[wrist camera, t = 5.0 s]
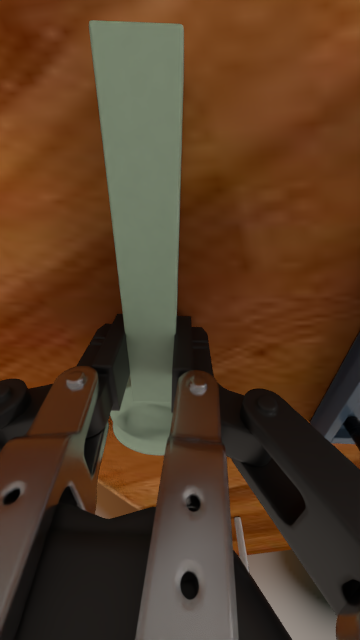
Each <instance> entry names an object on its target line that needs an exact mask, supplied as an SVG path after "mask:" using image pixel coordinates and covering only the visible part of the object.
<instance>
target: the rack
mask: <svg viewBox="0 0 360 640" xmlns="http://www.w3.org/2000/svg"><path fill="white" fill-rule="evenodd" d="M310 424H311V425H312V426H313V427H314V428H315V429H316V430H317V431H318V432H319V433H320V434H321V435H323V436H324V437H325V438H326V439H327V440H328V441H329V442H330V443H340V444H356V446H357V447H358V449H359V450H360V332H359V334H358V336H357V338H356V339H355V341H354V343H353V345H352V347H351V349H350V350H349V352H348V354H347V356H346V358H345V359H344V361H343V363H342V365H341V367H340V369H339V370H338V372H337V374H336V376H335V378H334V379H333V381H332V383H331V385H330V387H329V389H328V390H327V392H326V394H325V396H324V398H323V399H322V401H321V403H320V405H319V407H318V409H317V410H316V412H315V414H314V416H313V418H312V419H311V421H310Z"/></svg>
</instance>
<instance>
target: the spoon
mask: <svg viewBox="0 0 360 640" xmlns="http://www.w3.org/2000/svg"><path fill="white" fill-rule="evenodd" d="M89 32H90V40H91V49H92V57H93V66H94V74H95V83H96V91H97V100H98V108H99V117H100V125H101V134H102V142H103V150H104V159H105V167H106V176H107V184H108V193H109V201H110V210H111V218H112V227H113V235H114V244H115V252H116V261H117V269H118V278H119V286H120V295H121V303H122V312H123V320H124V329H125V333H126V342H127V351H128V359H129V368H130V376H129V379H128V383H127V386H126V390H125V393H124V397H123V401H122V404H121V408H120V411H111V413H110V416H111V419H112V421H113V431H114V434H115V436H116V438H117V439H118V440H119V441H120V442H121V443H122V444H123V445H125V446H126V447H128V448H130V449H132V450H135V451H137V452H140V453H144V454H150V455H164V454H165V448H166V443H167V439H168V437H169V434H170V428H171V422H172V415H173V413H171V401H172V364H173V349H174V335H175V334H176V319H177V292H178V258H179V223H180V188H181V154H182V119H183V84H184V28H183V25H181V24H170V23H145V22H120V21H95V20H91V21H89Z"/></svg>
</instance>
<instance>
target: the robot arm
mask: <svg viewBox="0 0 360 640" xmlns="http://www.w3.org/2000/svg"><path fill="white" fill-rule="evenodd" d="M129 376H130V368H129V359H128V351H127V342H126V333H125V329H124V320H123V314H117V315H116V317H115V319H114V321H113V323H112V324H105V325H103V326H102V327H101V328H99V329H98V330H97V332H96V333H95V335H94V337H93V339H92V340H91V342H90V345H88V347H87V349H86V351H85V352H84V354H83V356H82V357H81V359H80V361H79V363H78V364H77V366H76V367H73V368H70V369H68V370H66V371H64V372H63V373H61V374H60V375H59V376H58V377H57V378H56V380H55V381H54V383H53V384H50V385H45V386H40V387H36V388H31V389H28V388H27V386H26V384H25V382H23V381H22V380H19V379H6V380H2V381H0V640H292V639H291V637H290V635H289V634H288V632H287V631H286V629H285V628H284V626H283V625H282V623H281V622H280V620H279V618H278V617H277V615H276V614H275V612H274V611H273V609H272V607H271V606H270V604H269V603H268V601H267V600H266V598H265V596H264V595H263V593H262V592H261V590H260V589H259V587H258V586H257V584H256V582H255V581H254V579H253V578H252V576H251V575H250V573H249V572H248V570H247V568H246V567H245V565H244V564H243V562H242V561H241V559H240V558H239V556H238V555H237V554H236V553H235V551H234V550H233V546H232V531H231V516H230V501H229V487H228V472H227V457H230V458H231V459H232V461H233V463H234V464H235V466H236V467H237V469H238V470H239V472H240V473H241V475H242V476H243V478H244V479H245V480H246V482H247V483H248V485H249V486H250V488H251V489H252V491H253V492H254V494H255V495H256V497H257V498H258V500H259V501H260V503H261V504H262V506H263V507H264V509H265V510H266V512H267V513H268V515H269V516H270V517H271V519H272V520H273V522H274V523H275V525H276V526H277V528H278V529H279V531H280V532H281V534H282V535H283V537H284V538H285V540H286V541H287V543H288V544H289V546H290V547H291V549H292V550H293V552H294V553H295V555H296V556H297V557H298V559H299V560H300V562H301V563H302V565H303V566H304V568H305V569H306V571H307V572H308V574H309V575H310V577H311V578H312V580H313V581H314V583H315V584H316V586H317V587H318V589H319V590H320V591H321V593H322V594H323V596H324V597H325V599H326V600H327V602H328V603H329V605H330V606H331V608H332V609H333V611H334V612H335V613H336V615H337V616H338V618H337V623H336V639H337V640H360V469H358V468H357V467H356V466H355V465H354V464H353V463H352V462H351V461H350V460H349V459H348V458H346V457H345V456H344V455H343V454H342V453H341V452H340V451H339V450H338V449H337V448H336V447H335V446H333V445H332V444H331V443H330V442H329V441H328V440H327V439H326V438H325V437H324V436H323V435H321V434H320V433H319V432H318V431H317V430H316V429H315V428H314V427H313V426H312V425H311V424H310V423H308V422H307V421H306V420H305V419H304V418H303V417H302V416H301V415H300V414H299V413H298V412H296V411H295V410H294V409H293V408H292V407H291V406H290V405H289V404H288V403H287V402H286V401H285V400H283V399H282V398H281V397H280V396H279V395H277V394H276V393H274V392H272V391H269V390H266V389H253V390H250V391H248V392H247V393H246V394H245V396H244V395H241V394H238V393H235V392H232V391H229V390H227V389H225V388H223V387H222V386H221V385H219V384H218V382H217V381H216V379H215V378H214V375H213V370H212V363H211V356H210V349H209V343H208V336H207V333H206V332H205V331H204V329H203V328H202V327H191V316H177V319H176V334H175V335H174V349H173V364H172V401H171V413H173V415H172V422H171V428H170V434H169V437H168V439H167V443H166V448H165V454H164V461H163V467H162V473H161V480H160V486H159V492H158V499H157V505H156V507H150V508H147V509H143V510H140V511H136V512H133V513H130V514H126V515H123V516H119V517H115V518H112V519H105V518H102V517H99V516H97V515H95V510H96V502H97V480H98V475H99V470H100V466H101V461H102V456H103V452H104V447H105V442H106V437H107V433H108V428H109V424H108V419H109V416H110V413H111V411H120V408H121V404H122V401H123V397H124V393H125V390H126V386H127V383H128V379H129ZM226 456H227V457H226Z"/></svg>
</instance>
